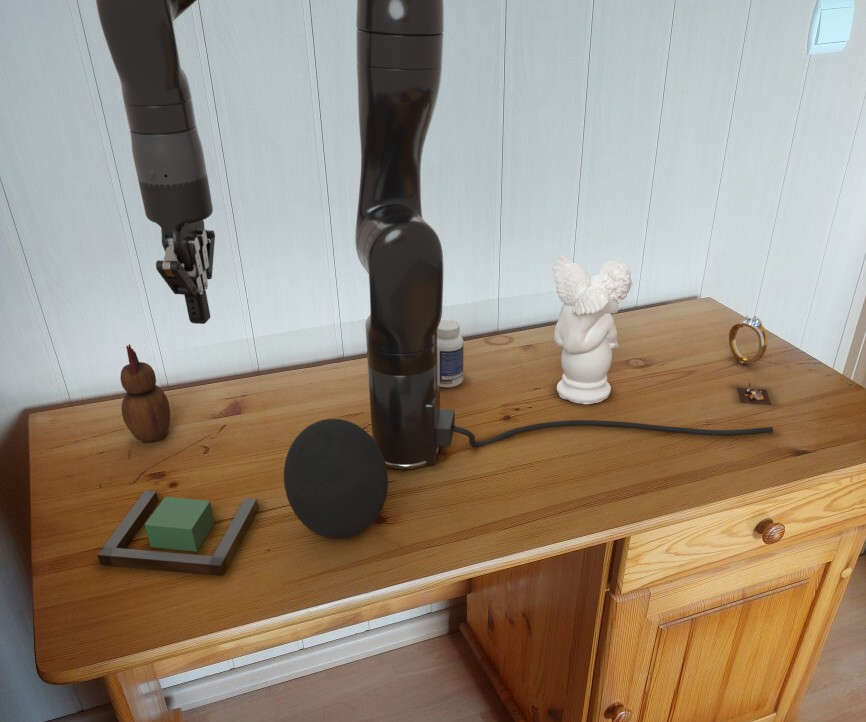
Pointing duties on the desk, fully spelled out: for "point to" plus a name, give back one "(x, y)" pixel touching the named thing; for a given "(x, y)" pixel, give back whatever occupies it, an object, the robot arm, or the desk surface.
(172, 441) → the desk surface
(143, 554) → the frame
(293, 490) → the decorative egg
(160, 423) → the wooden figurine
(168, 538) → the green block
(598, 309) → the cherub figurine
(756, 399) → the diorama
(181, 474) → the desk surface
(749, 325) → the ring
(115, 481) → the desk surface
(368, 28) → the robot arm
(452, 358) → the pill bottle
